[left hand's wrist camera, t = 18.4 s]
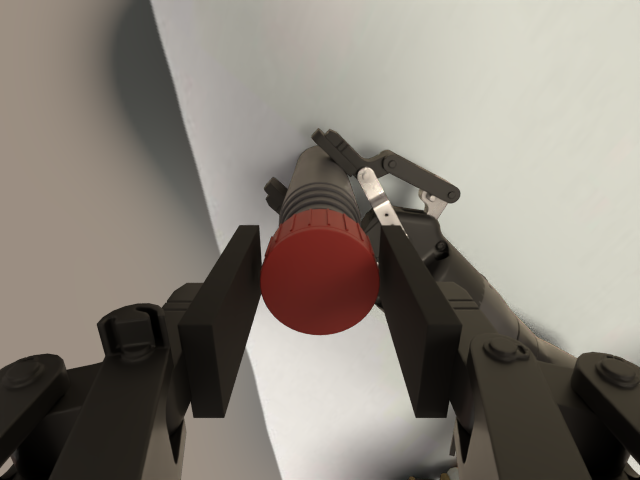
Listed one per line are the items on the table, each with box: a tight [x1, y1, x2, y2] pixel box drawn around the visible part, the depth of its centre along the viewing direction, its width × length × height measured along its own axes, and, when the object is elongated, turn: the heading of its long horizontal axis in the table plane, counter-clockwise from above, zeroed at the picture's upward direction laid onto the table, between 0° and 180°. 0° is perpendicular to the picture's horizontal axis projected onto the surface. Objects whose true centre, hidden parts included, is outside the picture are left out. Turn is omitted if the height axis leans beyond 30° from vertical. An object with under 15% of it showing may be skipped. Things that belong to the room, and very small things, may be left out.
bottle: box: [279, 146, 361, 227], centre depth 22 cm, size 4×4×20 cm
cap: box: [260, 209, 380, 335], centre depth 13 cm, size 4×4×2 cm
